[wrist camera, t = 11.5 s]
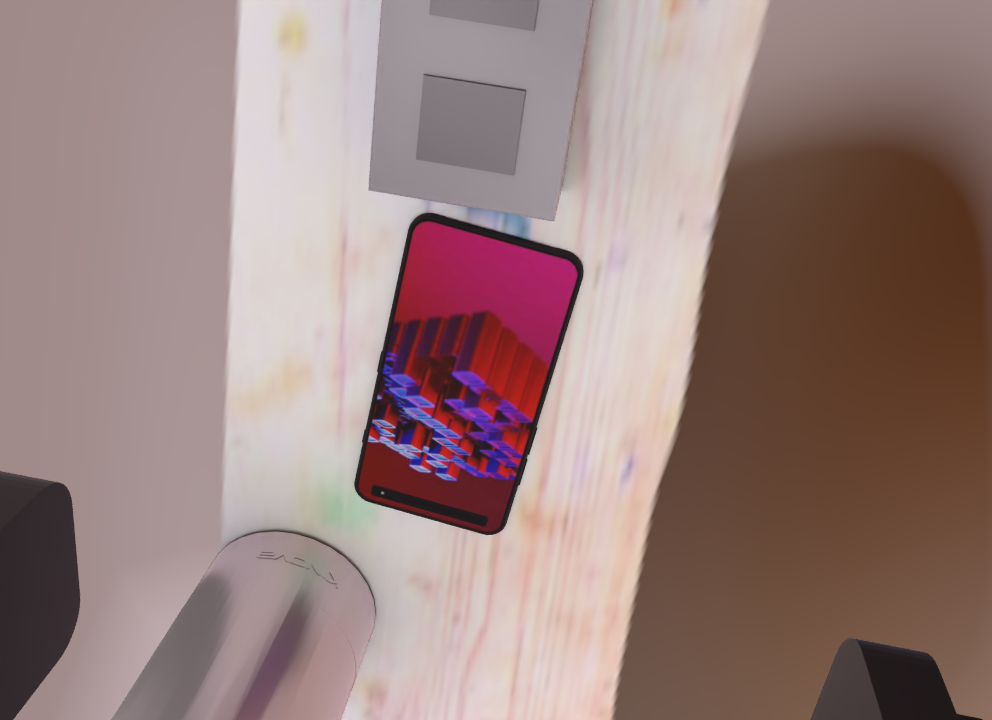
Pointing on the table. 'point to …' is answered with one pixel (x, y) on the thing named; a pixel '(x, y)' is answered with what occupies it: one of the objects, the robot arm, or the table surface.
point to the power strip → (477, 101)
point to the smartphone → (464, 372)
